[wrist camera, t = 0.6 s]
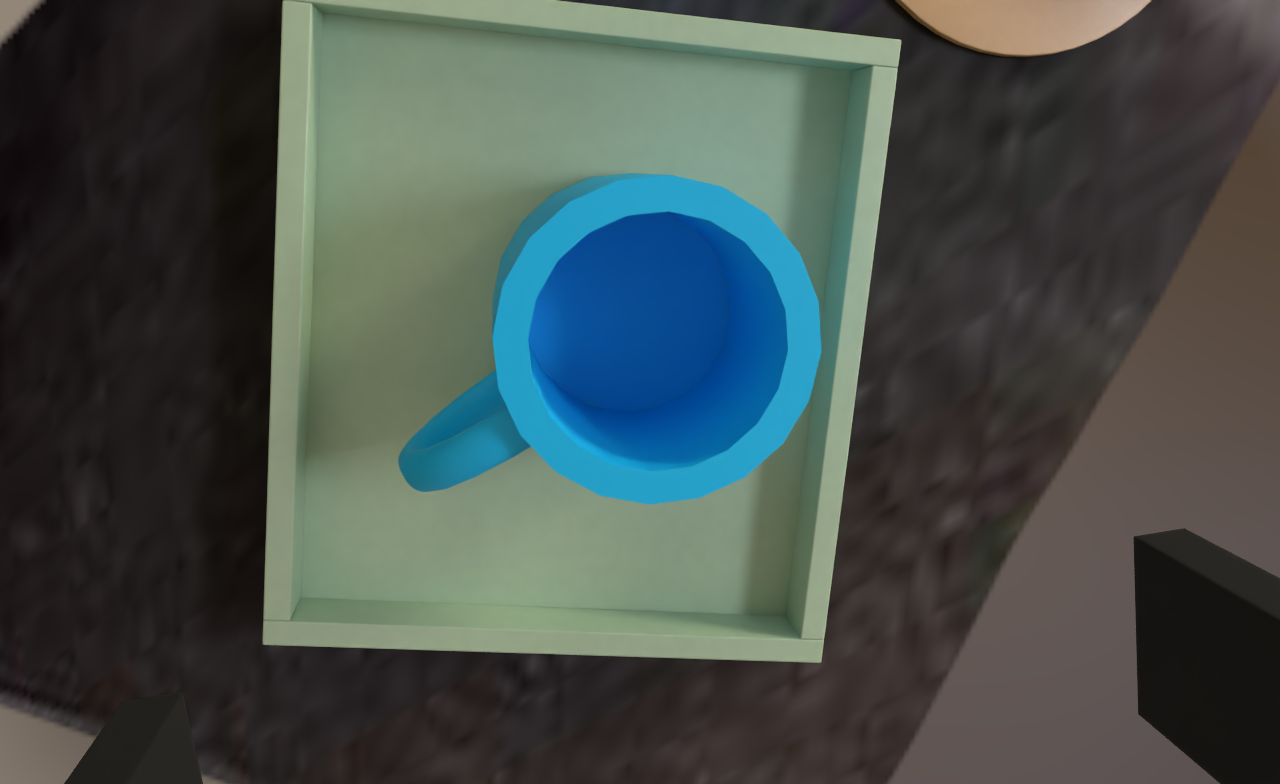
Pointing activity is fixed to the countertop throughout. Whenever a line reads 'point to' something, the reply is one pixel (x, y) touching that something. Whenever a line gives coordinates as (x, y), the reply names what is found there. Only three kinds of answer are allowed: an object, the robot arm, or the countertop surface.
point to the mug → (636, 345)
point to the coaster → (1022, 23)
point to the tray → (463, 310)
